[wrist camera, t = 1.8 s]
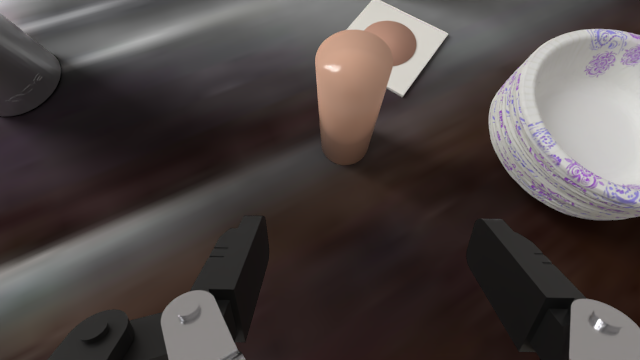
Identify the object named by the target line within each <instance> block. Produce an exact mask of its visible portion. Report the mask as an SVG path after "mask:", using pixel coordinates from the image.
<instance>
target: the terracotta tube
mask: <svg viewBox="0 0 640 360" xmlns="http://www.w3.org/2000/svg"><path fill="white" fill-rule="evenodd" d="M315 65H316V79H317V92H318V105H319V118H320V132H321V145H322V150H323V152H324V154H325V156H326V157H327V158H328V159H329V160H330V161H332V162H334V163H336V164H339V165H351V164H354V163H356V162H358V161H360V160H361V159H362V158H363V157H364V156H365V154H366V152H367V150H368V146H369V143H370V140H371V137H372V133H373V130H374V127H375V124H376V120H377V117H378V114H379V110H380V107H381V104H382V101H383V97H384V94H385V91H386V87H387V84H388V81H389V78H390V74H391V71H392V68H393V56H392V53H391V50H390V48H389V46H388V45H387V44H386V43H385V42H384V41H383V40H382V39H381V38H380V37H378V36H377V35H375V34H373V33H370V32H367V31H363V30H345V31H341V32H338V33H335V34H333V35H332V36H330V37H328V38H327V39H326V40H325V41H324V42H323V43H322V44H321V45H320V47H319V49H318V51H317V53H316V58H315Z"/></svg>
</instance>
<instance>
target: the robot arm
mask: <svg viewBox="0 0 640 360" xmlns="http://www.w3.org/2000/svg"><path fill="white" fill-rule="evenodd" d="M60 75H61V66H60V64H59V61H58V60H57V58H56V57H55V56H54V55H53V54H52V53H50V52H49V51H48V50H46V49H45V48H44V47H43V46H41V45H40V44H39V43H37V42H36V41H35V40H34V39H32V38H31V37H30V36H28V35H27V34H26V33H25V32H23V31H22V30H21V29H20V28H19V27H17V26H16V25H15V24H13V23H12V22H11V21H9V20H8V19H7V18H6V17H4V16H3V15H2V14H0V116H15V115H20V114H23V113H25V112H28V111H30V110H32V109H34V108H36V107H37V106H39V105H40V104H41V103H43V102H44V101H45V100H46V99H47V98H48V97H49V96H50V95H51V94H52V93H53V91H54V90H55V88H56V87H57V84H58V82H59V80H60ZM466 257H467V263H468V266H469V268H470V270H471V271H472V273H473V275H474V276H475V278H476V280H477V281H478V283H479V285H480V287H481V288H482V290H483V292H484V293H485V295H486V297H487V298H488V300H489V302H490V303H491V305H492V307H493V309H494V310H495V312H496V314H497V315H498V317H499V319H500V320H501V322H502V324H503V325H504V327H505V329H506V331H507V332H508V334H509V336H510V337H511V339H512V341H513V342H514V344H515V346H516V348H517V349H518V351H519V352H536V353H537V354H538V356H539V358H540V360H640V328H639V327H638V326H637V325H636V324H635V323H634V322H633V321H632V320H631V319H630V318H629V317H627V316H626V315H625V314H623V313H622V312H620V311H618V310H617V309H615V308H613V307H611V306H609V305H607V304H604V303H602V302H599V301H595V300H591V299H587V298H586V297H585V296H584V295H583V294H582V293H581V292H580V291H579V290H578V289H577V288H576V287H575V286H574V285H573V284H572V283H571V282H570V281H569V280H568V279H567V278H566V277H565V276H564V275H563V274H562V273H561V272H560V271H559V269H558V268H557V267H556V266H555V265H552V262H551V261H550V260H549V259H548V258H547V257H546V256H545V255H543V253H542V252H541V251H540V250H539V249H538V248H537V247H536V246H535V245H534V244H533V243H532V242H531V241H529V240H528V239H526V238H525V237H523V236H522V235H520V234H518V233H514V232H513V230H512V229H511V228H510V227H509V226H508V225H507V224H506V223H505V222H504V221H503V220H502V219H478V220H476V222H475V224H474V228H473V231H472V235H471V238H470V241H469V245H468V248H467V253H466ZM268 259H269V243H268V235H267V227H266V220H265V217H264V216H244V217H243V219H242V221H241V223H240V225H239V227H238V229H233V228H230V229H229V230H228V231H227V232H225V233H224V234H223V235H222V236H221V237H220V238H219V240H218V241H217V243H216V245H215V247H214V249H213V250H212V252H211V254H210V257H209V258H208V259H207V261H206V263H205V265H204V267H203V268H202V270H201V272H200V274H199V276H198V277H197V279H196V281H195V283H194V285H193V286H192V288H191V290H190V292H187V293H184V294H182V295H180V296H179V297H177V298H175V299H174V300H173V301H172V302H171V303H170V304H169V305H168V306H167V307H166V308H165V310H164V312H161V313H158V314H154V315H150V316H146V317H143V318H139V319H135V320H131V321H129V319H128V317H127V315H126V314H125V313H124V312H123V311H121V310H107V311H103V312H100V313H97V314H95V315H93V316H91V317H89V318H87V319H85V320H84V321H82V322H81V323H80V324H78V325H77V326H76V327H75V328H74V329H73V330H72V331H71V332H70V333H69V334H68V335H67V337H66V338H65V339H64V340H63V341H62V343H61V344H60V345H59V346H58V348H57V349H56V350H55V351H54V352H53V354H52V355H51V356H50V357H49V359H48V360H245V358H244V356H243V354H242V353H241V352H239V351H238V350H237V348H236V345H235V342H246V338H247V335H248V331H249V328H250V324H251V321H252V317H253V314H254V310H255V307H256V303H257V300H258V296H259V292H260V289H261V285H262V282H263V278H264V275H265V271H266V268H267V264H268Z"/></svg>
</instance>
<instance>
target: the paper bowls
mask: <svg viewBox="0 0 640 360" xmlns="http://www.w3.org/2000/svg"><path fill="white" fill-rule="evenodd" d="M489 131H490V138H491V142H492V145H493V148H494V150H495V152H496V154H497V155H498V158H499V159H500V161H501V163H502V165H503V166H504V168H505V169H506V171H507V172H508V174H509V175H510V176H511V177H512V178H513V179H514V180H515V181H516V182H517V183H518V184H519V185H520V186H521V187H522V188H523V189H524V190H525V191H526V192H528V193H529V194H530V195H531V196H533V197H534V198H536V199H538V200H539V201H540V202H542V203H544V204H545V205H547V206H549V207H551V208H553V209H555V210H557V211H559V212H562V213H564V214H567V215H570V216H575V217H578V218H583V219H590V220H620V219H627V218H632V217H638V216H640V35H636V34H633V33H628V32H624V31H618V30H609V29H586V30H579V31H574V32H570V33H566V34H563V35H560V36H558V37H556V38H553V39H551V40H549V41H547V42H546V43H544V44H543V45H541V46H540V47H539V48H538V49H537V50H536V51H535V52H533V54H532V55H531V56H530V57H529V58H528V59H527V60H526V61H525V62H524V63H523V64H522V65H521V66H520V67H519V68H518V69H517V70H516V71H515V72H514V73H513V74H512V75H511V76H510V78H509V79H508V80H507V81H506V82H505V83H504V85H503V86H502V87H501V88H500V90H499V91H498V92H497V94H496V95H495V97H494V99H493V100H492V103H491V106H490V112H489Z"/></svg>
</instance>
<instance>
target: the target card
mask: <svg viewBox="0 0 640 360" xmlns="http://www.w3.org/2000/svg"><path fill="white" fill-rule="evenodd" d="M347 30H363V31H367V32H370V33H373V34H375V35H377V36H378V37H380V38H381V39H382V40H383V41H384V42H385V43H386V44H387V45H388V46H389V48H390V50H391V53H392V56H393V68H392V71H391V74H390V78H389V81H388V84H387V87H386V88H387V89H389V90H390V91H392V92H394V93H396V94H397V95H399V96H401V97H403V96H404V94H405V93H406V92H407V90H408V89H409V88H410V86H411V85H412V84H413V82H414V81H415V79H416V78H417V77H418V75H419V74H420V73H421V71H422V70H423V68H424V67H425V66H426V64H427V63H428V62H429V60H430V59H431V58H432V56H433V55H434V53H435V52H436V51H437V49H438V48H439V47H440V45H441V44H442V43H443V41H444V40H445V38H446V37H447V36H448V33H446V32H444V31H442V30H440V29H438V28H436V27H434V26H432V25H430V24H428V23H426V22H424V21H421V20H419V19H417V18H415V17H413V16H411V15H409V14H407V13H405V12H403V11H401V10H399V9H397V8H395V7H393V6H391V5H389V4H387V3H385V2H383V1H381V0H372V1H371V2H370V3H369V4H368V5H367V7H366V8H365V9H364V10H363V11H362V12H361V14H360V15H359V16H358V17H357V18H356V19H355V20H354V22H353V23H352V24H351V25H350V26H349V27H348V29H347Z"/></svg>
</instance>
